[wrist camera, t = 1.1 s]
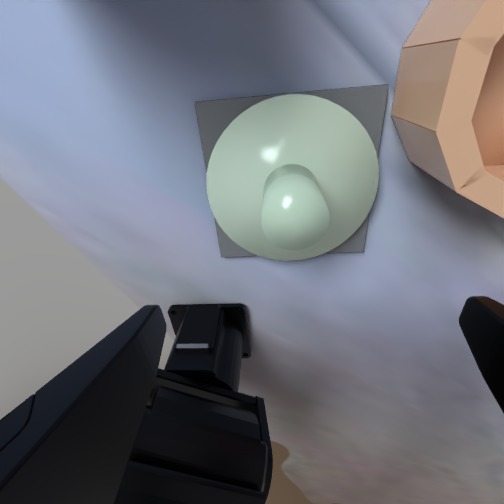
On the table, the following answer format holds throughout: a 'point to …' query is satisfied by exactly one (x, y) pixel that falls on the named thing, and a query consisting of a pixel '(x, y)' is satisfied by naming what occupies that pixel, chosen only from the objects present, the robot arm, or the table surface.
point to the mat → (351, 99)
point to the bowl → (455, 98)
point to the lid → (292, 177)
